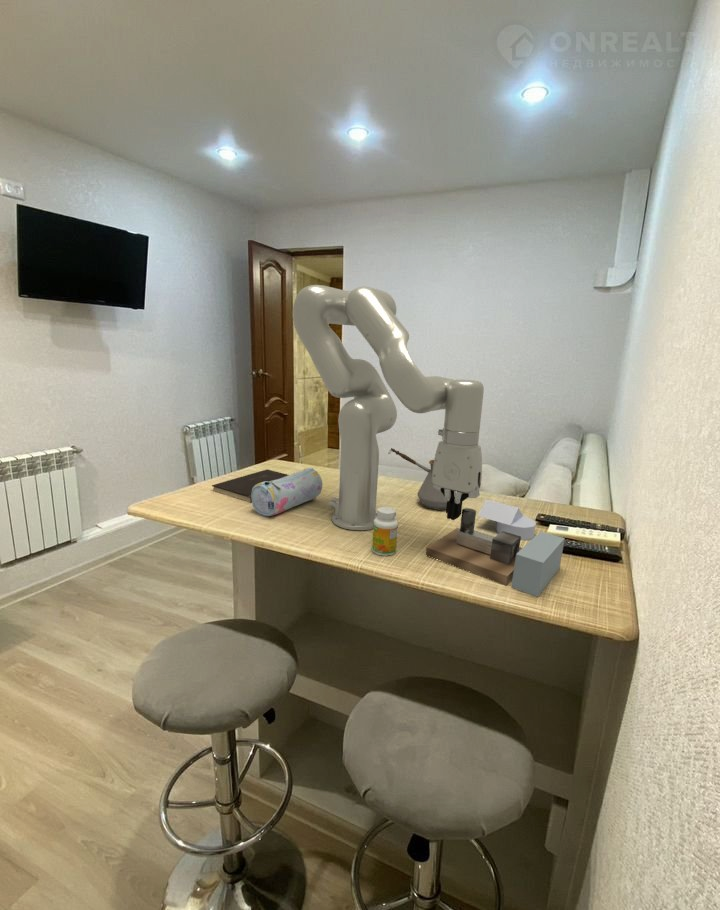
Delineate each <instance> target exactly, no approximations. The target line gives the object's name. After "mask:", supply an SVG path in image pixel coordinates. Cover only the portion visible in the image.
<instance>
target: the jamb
mask: <svg viewBox="0 0 720 910" xmlns="http://www.w3.org/2000/svg"><path fill="white" fill-rule="evenodd" d="M565 539H566V538H565V537H562V536H559V535H555V534H551V533H547V532H544V531H539V532H538V533H537V534H536V535H534V537H533V538H532V539H530V540H529V541H528V543H526V544H525V546H523V547H521V548H522V549H521V550H520V551H519V552H518V553H517V554H516V558H515V565H514V572H513V579H512V580H511V585H510V586H511V588H512V589H515V590H517V591H520V592H523V593H525V594H528V595H531V596H533V597H537V598H538V597H540V595H541V593H542V592H543V591H544V589H546V588H547V586H548V584H549V583H550V582H551V580H552V579H553V578H554V576H556V573H558V571H559V570H560V569H561V568H560V567H561V562H562V557H563V550H564V545H565Z"/></svg>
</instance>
